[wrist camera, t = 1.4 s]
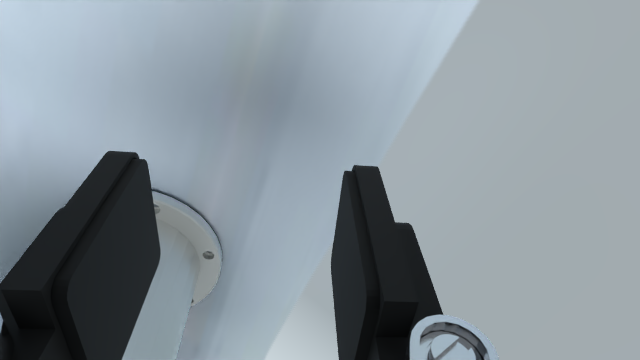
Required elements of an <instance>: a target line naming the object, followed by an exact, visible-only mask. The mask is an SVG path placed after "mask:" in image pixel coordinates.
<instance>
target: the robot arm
mask: <svg viewBox="0 0 640 360" xmlns="http://www.w3.org/2000/svg"><path fill="white" fill-rule="evenodd" d="M221 265H222V251H221V247H220V244H219V241H218V238H217V236H216V235H215V233H214V232H213V230H212V228H211V227H210V226H209V224H208V223H207V222H206V221H205V220H204V219H203V218H202V217H201V216H200V215H199V214H198V213H196V212H195V211H194V210H192V209H191V208H190V207H188V206H187V205H185V204H183V203H181V202H180V201H178V200H176V199H174V198H172V197H169V196H167V195H164V194H161V193H158V192H155V191H152V189H151V183H150V176H149V170H148V164H147V161H146V160H145V159H139V156H138V154H137V153H135V152H119V151H108V152H107V153H106V154H105V155H104V156H103V158H102V159H101V160H100V161H99V163H98V164H97V165H96V167H95V168H94V169H93V171H92V172H91V173H90V174H89V176H88V177H87V178H86V180H85V181H84V182H83V184H82V185H81V186H80V187H79V189H78V190H77V191H76V193H75V194H74V195H73V196H72V198H71V199H70V200H69V202H68V203H67V204H66V206H65V207H64V208H61V209H60V210H59V211H57V212H56V213H55V215H54V216H53V217H52V218H51V220H50V221H49V222H48V224H47V225H46V226H45V227H44V229H43V230H42V231H41V232H40V234H39V235H38V236H37V238H36V239H35V240H34V241H33V243H32V244H31V245H30V246H29V248H28V249H27V250H26V252H25V253H24V254H23V255H22V257H21V258H20V259H19V261H18V262H17V263H16V264H15V266H14V267H13V268H12V269H11V271H10V272H9V273H8V275H7V276H6V277H5V278H4V280H3V281H2V282H1V283H0V360H176V358H177V354H178V350H179V346H180V343H181V339H182V335H183V332H184V328H185V324H186V320H187V317H188V313H189V309H190V307H192V306H194V305H195V304H197V303H199V302H200V301H202V300H203V299H204V298H205V297H206V296H208V295H209V294H210V293H211V291H212V290H213V288H214V287H215V285H216V284H217V281H218V278H219V275H220V271H221ZM331 275H332V285H333V298H334V309H335V320H336V331H337V343H338V354H339V360H499V357H498V355H497V352H496V349H495V347H494V346H493V344H492V343H491V342H490V340H489V339H488V337H487V336H486V335H485V334H483V333H482V332H481V331H480V330H479V329H478V328H477V327H475V326H474V325H472V324H470V323H468V322H467V321H465V320H463V319H459V318H456V317H454V316H450V315H443V313H442V310H441V307H440V304H439V301H438V298H437V295H436V293H435V290H434V287H433V284H432V281H431V278H430V276H429V273H428V270H427V267H426V264H425V261H424V258H423V256H422V253H421V250H420V247H419V245H418V242H417V238H416V236H415V233H414V230H413V228H412V226H411V225H410V224H409V223H395V221H394V218H393V214H392V211H391V208H390V205H389V201H388V198H387V194H386V191H385V188H384V185H383V181H382V178H381V175H380V171H379V168H378V167H375V166H358V165H354V166H353V169H352V171H345V172H344V175H343V181H342V188H341V195H340V202H339V208H338V215H337V222H336V229H335V236H334V242H333V249H332V257H331Z"/></svg>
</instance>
